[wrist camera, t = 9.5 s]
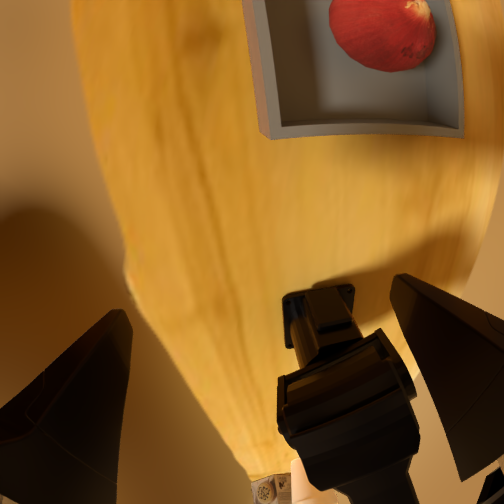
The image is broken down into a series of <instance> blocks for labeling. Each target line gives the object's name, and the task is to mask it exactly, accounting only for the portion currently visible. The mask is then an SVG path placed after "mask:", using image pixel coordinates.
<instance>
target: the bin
mask: <svg viewBox="0 0 504 504" xmlns="http://www.w3.org/2000/svg"><path fill="white" fill-rule="evenodd" d="M425 1H426V2H427V4H428V6H429V7H430V10H431V13H432V15H433V18H434V22H435V26H436V31H437V33H436V39H435V43H434V47H433V50H432V52H431V54H430V55H429V56H428V57H427V58H426V59H424V60H423V61H422V62H421V63H420V64H419V65H417V66H416V67H415V68H413V69H409V70H405V71H398V72H392V73H390V72H383V71H379V70H375V69H371V68H367V67H365V66H363V65H362V64H360V63H358V62H357V61H355V60H353V59H352V58H350V57H349V56H348V55H347V54H346V52H345V51H344V50H343V49H342V48H341V47H340V46H339V45H338V44H337V43H336V40H335V38H334V35H333V33H332V31H331V29H330V26H329V7H330V4H331V2H332V0H242V6H243V12H244V19H245V25H246V32H247V39H248V46H249V53H250V61H251V68H252V75H253V83H254V90H255V98H256V106H257V114H258V122H259V130H260V132H261V133H262V134H263V135H265V136H266V137H267V138H269V139H270V140H275V139H285V138H297V137H310V136H326V135H350V134H403V135H426V136H441V137H453V138H463V139H464V92H463V77H462V67H461V58H460V51H459V44H458V38H457V32H456V27H455V22H454V17H453V13H452V8H451V4H450V1H449V0H425Z"/></svg>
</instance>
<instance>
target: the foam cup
mask: <svg viewBox="0 0 504 504" xmlns="http://www.w3.org/2000/svg"><path fill="white" fill-rule="evenodd" d="M291 490H292V504H339V502H338V498H337V495H336V494H335V492H334V490H333V489H329V490H326V491H323V492H321V491H319V490H318V489H316V488H315V487H314V486H313V485H311V484H310V483H309V481H308V478H307V475H306V472H305V469H304V467H303V464H302V461H301V459H300V457H299V458H296V459H294V460H292V461H291Z"/></svg>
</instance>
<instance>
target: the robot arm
mask: <svg viewBox="0 0 504 504" xmlns="http://www.w3.org/2000/svg"><path fill="white" fill-rule="evenodd" d="M349 289H350V290H349ZM348 290H349V291H348ZM354 295H355V288H354V286H353V285H352V284H345V285H340V286H335V287H330V288H325V289H319V290H314V291H308V292H303V293H297V294H291V295H286V296H284V297H283V298H282V312H283V326H284V341H285V347H286V348H288V349H292V348H294V349H295V353H296V356H297V360H298V364H299V367H300V369H299V370H297V371H295V372H293V373H290V374H288V375H283V376H280V377H278V386H277V424H278V431H279V433H280V434H281V435H283V436H284V438H285V440H286V442H287V443H288V444H289V446H290V447H291V448H293V449H294V450H297V453H298V455H299V457H300V459H301V461H302V464H303V467H304V469H305V472H306V475H307V478H308V481H309V483H310V484H311V485H313V486H314V487H315V488H316V489H318V490H319V491H321V492H323V491H326V490H329V489H335V490H336V491H338V492H340V493H342V494H344V495H346V496H347V497H348V499H349V501H350V503H351V504H419V501H418V498H417V495H416V492H415V489H414V486H413V484H412V481H411V478H410V475H409V473H408V470H409V467H410V464H411V460H412V457H413V455H415V454H417V453H418V450H419V444H420V434H419V424H418V422H417V419H416V416H415V415H414V411H413V409H412V406H411V404H410V400H412V399H414V398H415V397H417V393H416V389H415V386H414V383H413V381H412V378H411V376H410V374H409V371H408V369H407V367H406V365H405V364H404V362H403V360H402V358H401V357H400V355H399V354H398V352H397V351H396V349H395V348H394V346H393V345H392V343H391V342H390V340H389V339H388V338H387V336H386V335H385V333H384V332H383V330H382V329H381V328H379V329H377V330H375V331H374V333H372V334H371V335H369V336H367V337H365V338H364V337H363V335H362V333H361V331H360V329H359V327H358V325H357V324H356V322H355V320H354V318H353V316H352V310H353V303H354ZM288 300H290V301H289V302H286V301H288ZM390 301H391V304H392V306H393V309H394V311H395V314H396V317H397V319H398V322H399V324H400V327H401V330H402V332H403V335H404V337H405V339H406V341H407V343H408V346H409V348H410V350H411V352H412V354H413V356H414V358H415V360H416V363H417V365H418V367H419V369H420V371H421V373H422V376H423V378H424V380H425V383H426V385H427V387H428V390H429V392H430V394H431V397H432V399H433V401H434V404H435V407H436V409H437V412H438V414H439V417H440V419H441V422H442V425H443V427H444V430H445V433H446V436H447V439H448V442H449V445H450V448H451V451H452V454H453V457H454V460H455V463H456V467H457V470H458V474H459V477H460V480H461V482H463V481H465V480H467V479H468V478H470V477H471V476H473V475H475V474H476V473H478V472H479V471H481V470H482V469H484V468H485V467H487V466H488V465H490V464H491V463H493V462H494V461H495V460H497V461H498V463H499V465H500V466H499V467H498V468H497V469H495V470H494V471H493V472H491V473H490V474H489V475H487V476H486V479H485V482H484V485H483V488H482V491H481V493H480V496H479V499H478V501H477V504H504V320H502V319H500V318H498V317H496V316H494V315H492V314H490V313H488V312H485V311H484V310H482V309H480V308H478V307H476V306H474V305H472V304H470V303H468V302H466V301H464V300H462V299H460V298H458V297H456V296H454V295H452V294H449V293H447V292H445V291H443V290H441V289H439V288H437V287H435V286H433V285H430V284H428V283H426V282H424V281H422V280H420V279H418V278H415V277H413V276H411V275H409V274H407V273H401V274H396V275H395V276H394V277H393V281H392V286H391V290H390ZM132 339H133V329H132V326H131V324H130V321H129V319H128V317H127V314H126V312H125V311H124V310H123V309H112V310H110V311H109V312H108V313H107V314H106V315H105V316H104V317H102V318H101V319H100V320H99V321H98V322H97V323H95V324H94V325H93V326H92V327H91V328H90V329H89V330H87V332H85V333H84V334H83V335H82V336H81V337H80V338H78V339H77V341H75V342H74V343H73V344H72V345H71V346H70V347H69V348H67V349H66V350H65V351H64V352H63V353H62V354H61V355H60V356H59V357H58V358H56V359H55V360H54V361H53V362H52V363H51V364H50V365H49V366H48V367H47V368H46V369H45V370H44V371H43V372H42V373H40V374H39V375H38V376H37V377H36V378H35V379H34V380H33V381H32V382H31V383H30V384H29V385H28V386H26V387H25V388H24V389H23V390H22V391H21V392H20V393H19V394H17V395H16V396H15V397H13V398H12V399H11V400H10V401H9V402H8V403H6V404H5V405H4V406H3V407H2V408H0V504H116V499H117V484H116V483H117V473H118V461H119V449H120V439H121V430H122V422H123V414H124V407H125V400H126V393H127V387H128V381H129V375H130V366H131V351H132Z"/></svg>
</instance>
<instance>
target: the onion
mask: <svg viewBox="0 0 504 504" xmlns="http://www.w3.org/2000/svg"><path fill="white" fill-rule="evenodd" d="M329 26H330V29H331V31H332V33H333V35H334V38H335V40H336V43H337V44H338V45H339V46H340V47H341V48H342V49H343V50H344V51H345V52H346V54H347V55H348V56H349V57H350V58H352V59H353V60H355V61H357V62H358V63H360V64H362V65H363V66H365V67H367V68H371V69H375V70H379V71H383V72H390V73H392V72H398V71H405V70H409V69H413V68H415V67H416V66H417V65H419V64H420V63H421V62H422V61H423V60H424V59H426V58H427V57H428V56H429V55H430V54H431V52H432V50H433V47H434V43H435V39H436V33H437V31H436V26H435V22H434V18H433V15H432V13H431V10H430V7H429V6H428V4H427V2H426V1H425V0H332V2H331V4H330V7H329Z"/></svg>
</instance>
